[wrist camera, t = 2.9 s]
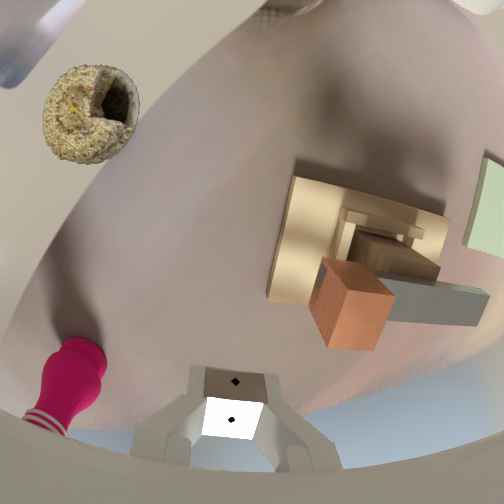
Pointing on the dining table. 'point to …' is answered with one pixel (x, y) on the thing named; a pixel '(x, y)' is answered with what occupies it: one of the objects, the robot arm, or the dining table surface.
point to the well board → (340, 233)
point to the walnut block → (390, 256)
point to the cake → (90, 114)
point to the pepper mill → (68, 385)
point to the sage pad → (487, 211)
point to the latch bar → (384, 303)
